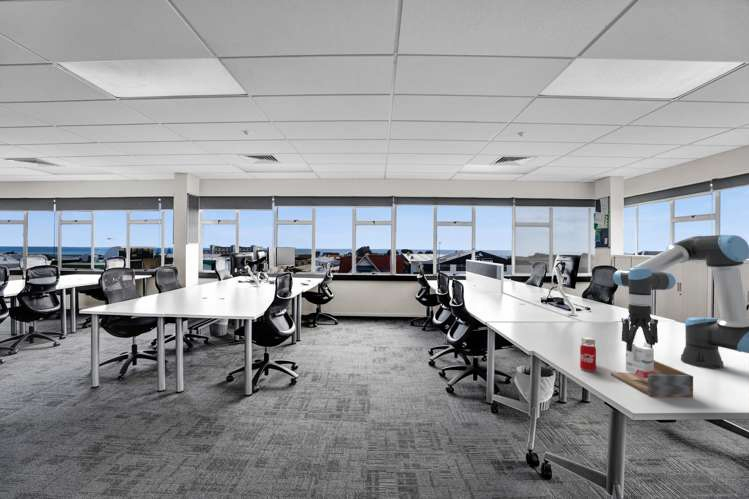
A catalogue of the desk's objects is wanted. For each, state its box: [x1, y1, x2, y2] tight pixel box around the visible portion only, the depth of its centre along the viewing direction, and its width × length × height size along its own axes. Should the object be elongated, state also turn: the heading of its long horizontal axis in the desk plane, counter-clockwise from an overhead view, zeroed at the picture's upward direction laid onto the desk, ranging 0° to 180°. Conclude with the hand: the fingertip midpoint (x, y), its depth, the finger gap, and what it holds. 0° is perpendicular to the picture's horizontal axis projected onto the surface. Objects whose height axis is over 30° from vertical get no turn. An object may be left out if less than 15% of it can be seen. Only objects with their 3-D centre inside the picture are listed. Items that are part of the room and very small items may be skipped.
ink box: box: [625, 343, 655, 378], centre depth 138 cm, size 8×5×12 cm, turn 12°
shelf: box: [610, 360, 694, 399], centre depth 137 cm, size 16×22×8 cm
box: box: [581, 336, 596, 346], centre depth 162 cm, size 5×4×13 cm
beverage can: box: [579, 342, 597, 373], centre depth 154 cm, size 6×6×12 cm
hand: (639, 359), depth 138 cm, fingers closed on ink box, 6 cm apart
